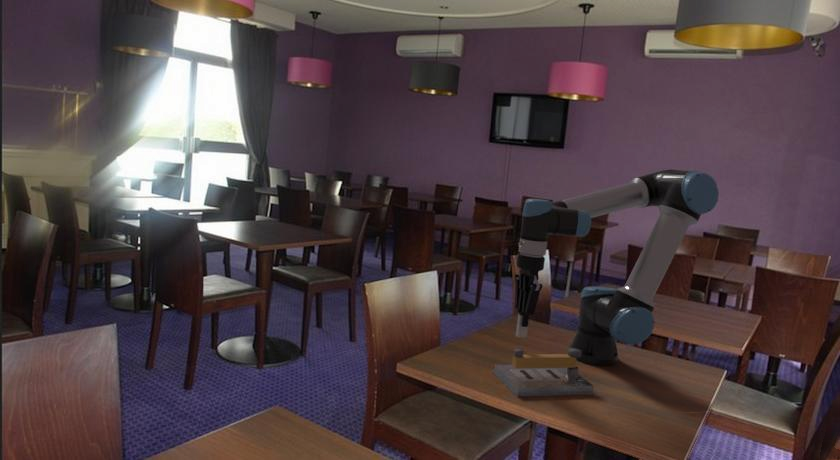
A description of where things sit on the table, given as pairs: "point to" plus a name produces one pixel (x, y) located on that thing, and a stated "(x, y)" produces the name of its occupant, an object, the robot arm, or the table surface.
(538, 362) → the yellow wooden bar
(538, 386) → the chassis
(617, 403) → the table surface
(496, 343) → the table surface
